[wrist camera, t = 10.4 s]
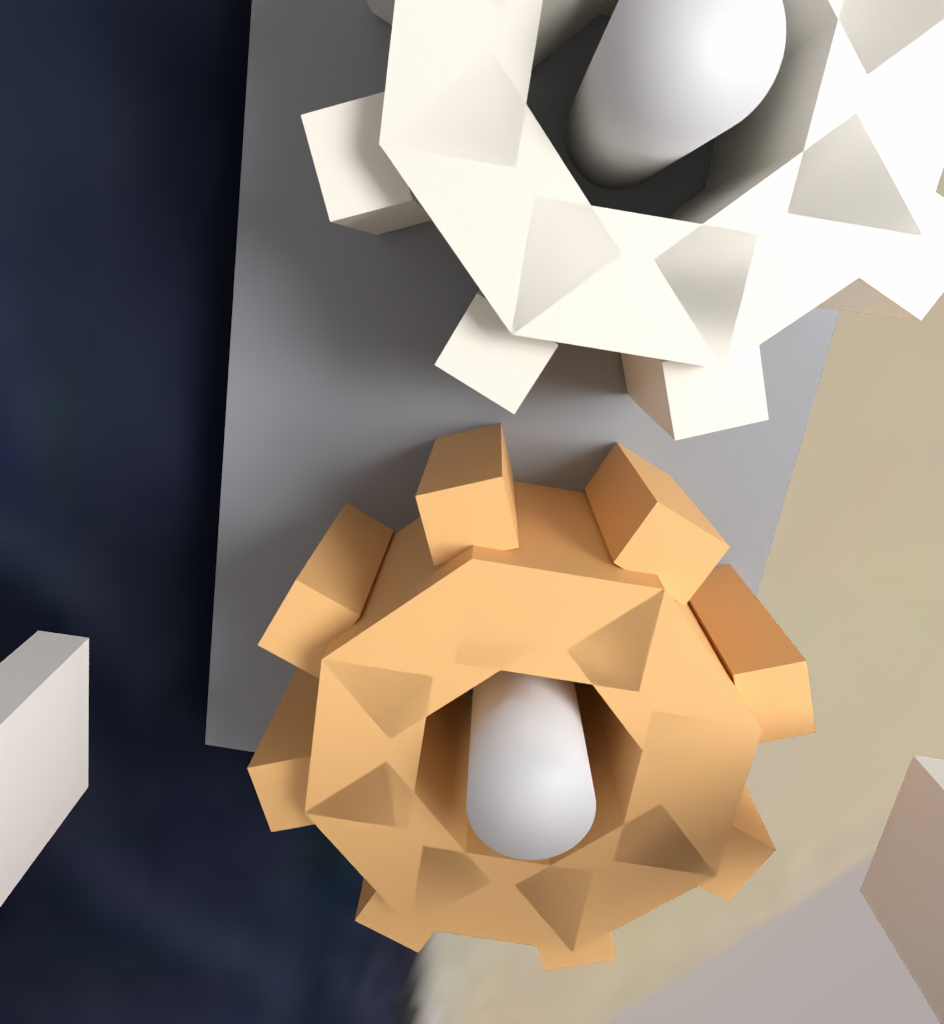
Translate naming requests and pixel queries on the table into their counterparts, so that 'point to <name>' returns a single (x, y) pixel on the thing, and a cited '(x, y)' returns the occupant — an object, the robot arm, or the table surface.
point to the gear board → (441, 397)
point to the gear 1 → (644, 238)
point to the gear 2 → (534, 651)
